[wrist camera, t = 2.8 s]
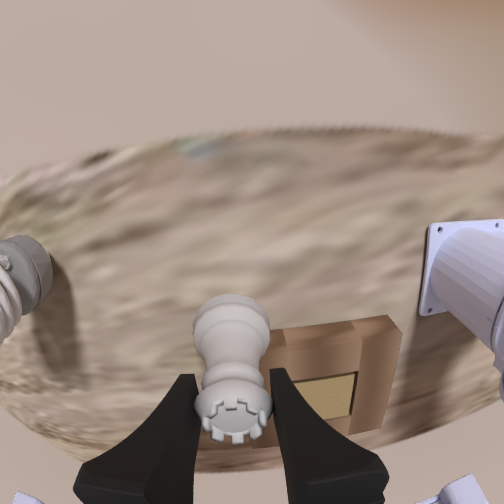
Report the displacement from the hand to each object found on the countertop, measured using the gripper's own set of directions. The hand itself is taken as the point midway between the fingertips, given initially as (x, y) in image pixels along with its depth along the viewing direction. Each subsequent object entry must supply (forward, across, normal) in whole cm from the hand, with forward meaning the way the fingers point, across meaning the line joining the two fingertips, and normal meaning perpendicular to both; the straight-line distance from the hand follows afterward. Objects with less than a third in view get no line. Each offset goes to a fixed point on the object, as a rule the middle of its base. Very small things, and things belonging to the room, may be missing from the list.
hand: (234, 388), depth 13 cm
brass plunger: (+8, -6, +9) cm, 14 cm away
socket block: (+10, -6, +9) cm, 15 cm away
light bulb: (+10, +15, -4) cm, 19 cm away
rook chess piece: (+6, 0, 0) cm, 6 cm away
